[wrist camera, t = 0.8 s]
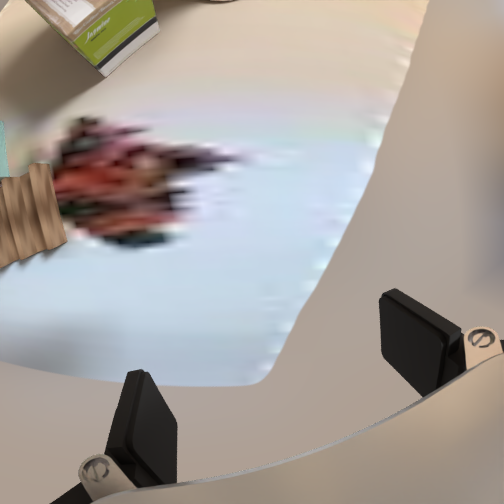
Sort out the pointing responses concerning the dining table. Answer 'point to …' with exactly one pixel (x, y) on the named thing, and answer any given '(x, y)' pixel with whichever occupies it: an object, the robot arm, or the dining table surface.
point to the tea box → (101, 27)
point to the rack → (29, 215)
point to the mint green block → (3, 154)
